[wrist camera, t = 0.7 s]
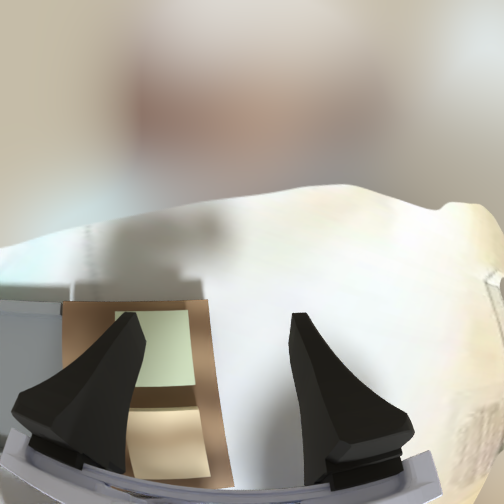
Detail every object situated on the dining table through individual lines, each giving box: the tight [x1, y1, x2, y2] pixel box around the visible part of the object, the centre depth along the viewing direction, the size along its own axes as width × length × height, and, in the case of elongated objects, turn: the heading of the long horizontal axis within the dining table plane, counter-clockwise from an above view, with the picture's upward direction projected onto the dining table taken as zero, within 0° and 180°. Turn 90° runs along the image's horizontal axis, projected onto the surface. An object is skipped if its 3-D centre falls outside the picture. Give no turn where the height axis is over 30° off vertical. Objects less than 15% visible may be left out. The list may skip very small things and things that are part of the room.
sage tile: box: [115, 310, 195, 387], centre depth 20 cm, size 6×6×2 cm
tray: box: [0, 299, 63, 459], centre depth 16 cm, size 18×14×2 cm
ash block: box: [126, 406, 211, 479], centre depth 17 cm, size 6×6×2 cm
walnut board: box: [62, 299, 235, 492], centre depth 20 cm, size 18×14×3 cm
